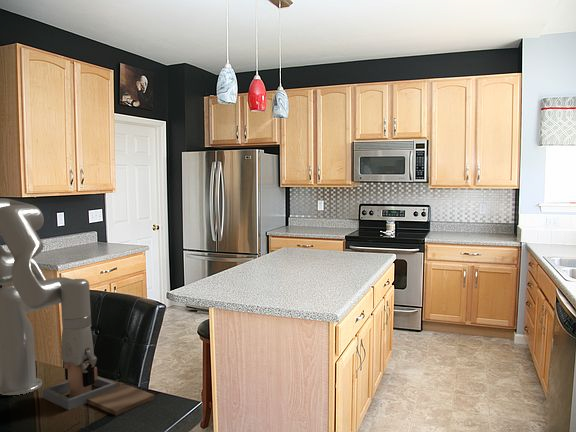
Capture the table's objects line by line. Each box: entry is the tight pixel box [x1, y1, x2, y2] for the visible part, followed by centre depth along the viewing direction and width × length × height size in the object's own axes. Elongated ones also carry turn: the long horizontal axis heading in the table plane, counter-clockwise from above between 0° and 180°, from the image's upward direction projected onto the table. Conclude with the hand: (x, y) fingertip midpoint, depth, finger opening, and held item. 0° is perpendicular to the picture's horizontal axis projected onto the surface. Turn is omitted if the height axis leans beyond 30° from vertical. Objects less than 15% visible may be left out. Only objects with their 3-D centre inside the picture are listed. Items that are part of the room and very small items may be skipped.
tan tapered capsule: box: [63, 359, 98, 398], centre depth 136 cm, size 6×9×10 cm, turn 143°
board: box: [86, 383, 156, 416], centre depth 130 cm, size 14×12×1 cm
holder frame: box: [42, 375, 118, 411], centre depth 135 cm, size 14×14×2 cm
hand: (79, 381), depth 135 cm, fingers open, 9 cm apart
